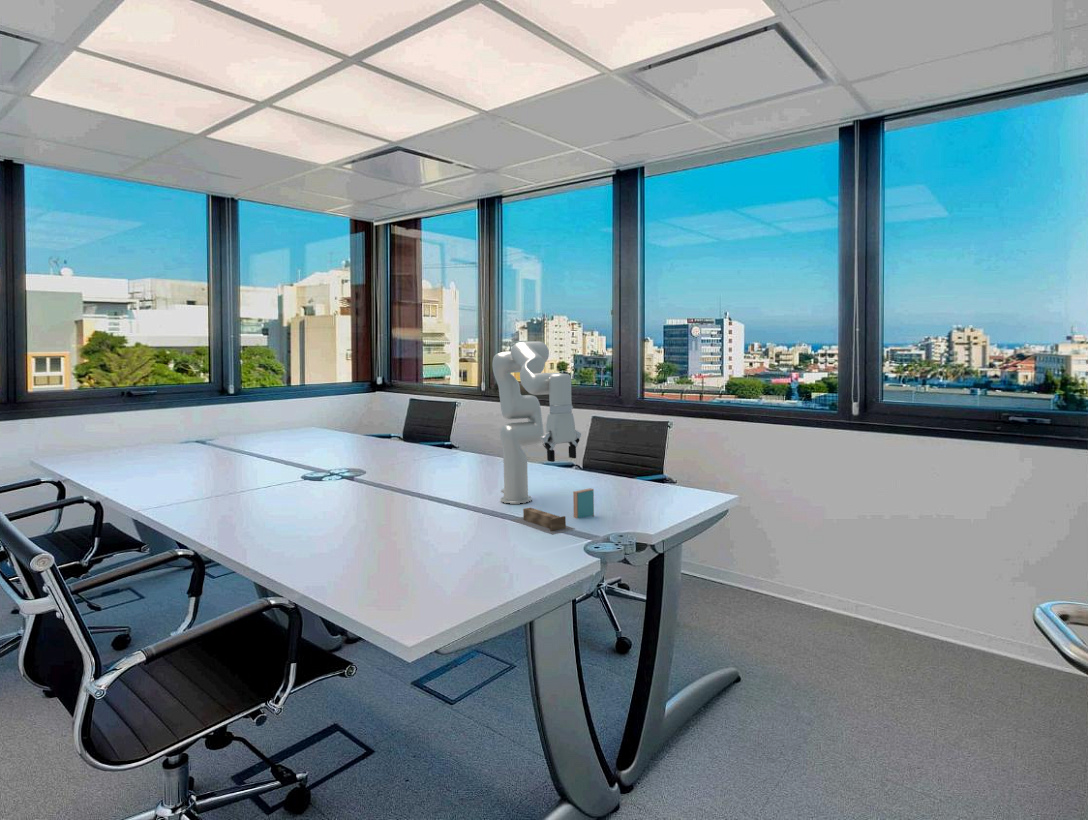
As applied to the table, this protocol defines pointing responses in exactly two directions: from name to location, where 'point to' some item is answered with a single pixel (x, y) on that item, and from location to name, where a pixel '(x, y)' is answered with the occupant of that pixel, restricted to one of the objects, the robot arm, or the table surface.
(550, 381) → the robot arm
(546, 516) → the wooden beam
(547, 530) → the tool mat
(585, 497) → the tile
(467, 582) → the table surface
